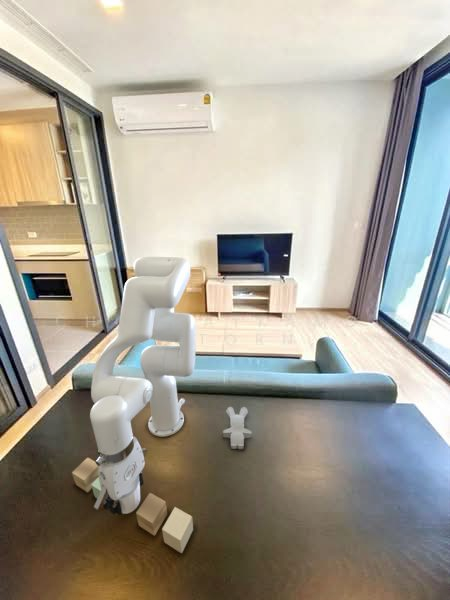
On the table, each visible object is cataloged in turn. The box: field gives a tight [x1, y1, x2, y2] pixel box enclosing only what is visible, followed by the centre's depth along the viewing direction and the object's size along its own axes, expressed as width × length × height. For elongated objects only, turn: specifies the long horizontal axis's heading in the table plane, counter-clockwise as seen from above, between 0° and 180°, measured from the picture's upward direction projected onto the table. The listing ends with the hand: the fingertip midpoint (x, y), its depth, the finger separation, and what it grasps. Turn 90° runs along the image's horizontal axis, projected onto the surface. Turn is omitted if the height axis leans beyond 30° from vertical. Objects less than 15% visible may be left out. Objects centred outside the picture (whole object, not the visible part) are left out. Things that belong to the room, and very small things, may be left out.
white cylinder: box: [118, 475, 141, 515], centre depth 64 cm, size 7×7×7 cm
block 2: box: [91, 477, 101, 500], centre depth 68 cm, size 5×5×5 cm
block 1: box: [71, 457, 99, 493], centre depth 71 cm, size 5×5×5 cm
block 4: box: [161, 506, 194, 554], centre depth 59 cm, size 5×5×5 cm
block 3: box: [135, 492, 168, 536], centre depth 62 cm, size 5×5×5 cm
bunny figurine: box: [222, 406, 252, 450], centre depth 86 cm, size 10×5×15 cm
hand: (127, 495), depth 64 cm, fingers closed on white cylinder, 6 cm apart
